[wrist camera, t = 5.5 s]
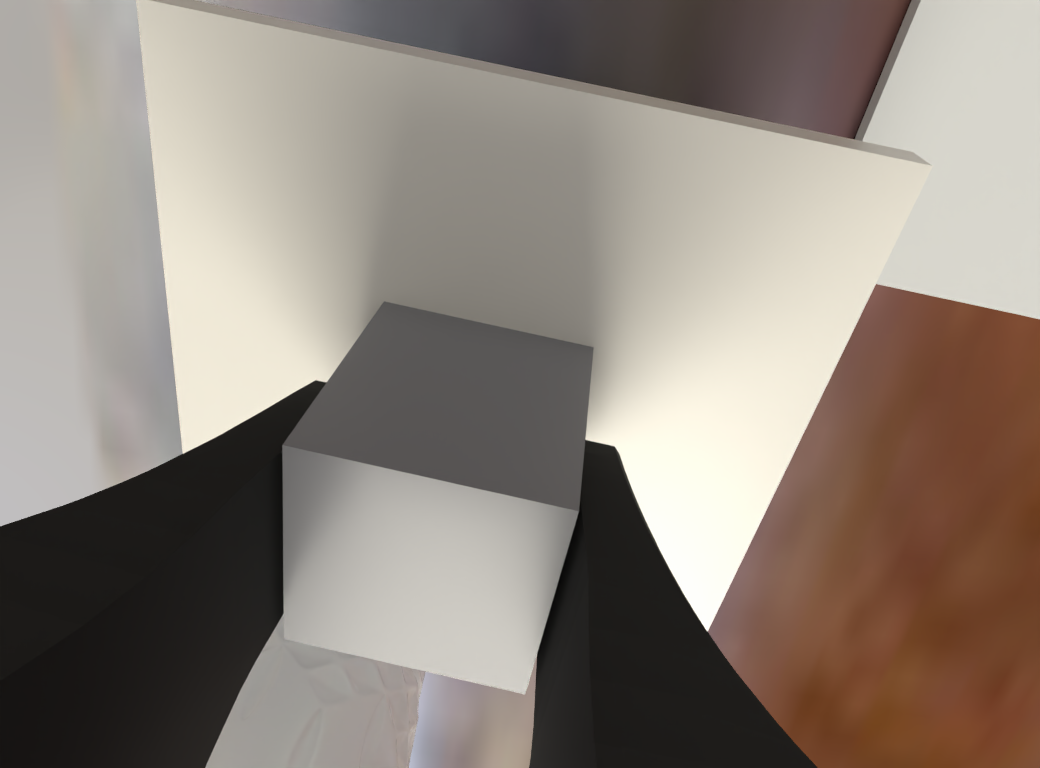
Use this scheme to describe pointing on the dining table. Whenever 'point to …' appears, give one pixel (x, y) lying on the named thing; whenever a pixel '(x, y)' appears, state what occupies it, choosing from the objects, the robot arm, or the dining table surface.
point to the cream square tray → (966, 150)
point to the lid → (492, 314)
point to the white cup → (320, 711)
